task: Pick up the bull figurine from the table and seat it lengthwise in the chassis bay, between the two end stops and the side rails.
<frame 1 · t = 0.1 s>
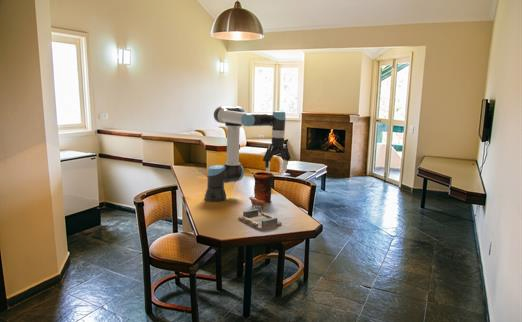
hand: (276, 171, 220), 28 cm above the table, tool pointing down, fingers open, 13 cm apart
chassis bay: (259, 222, 212), on the table
vessel: (262, 201, 254), on the table
bull figurine: (256, 210, 234), on the table
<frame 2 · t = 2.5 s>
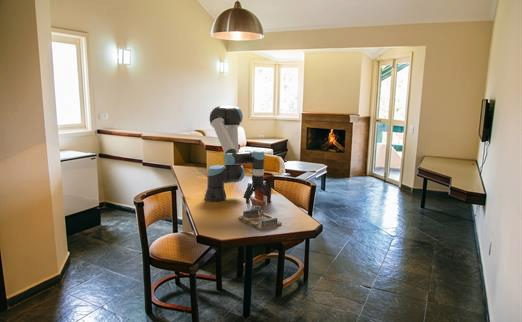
hand: (256, 207, 234), 2 cm above the table, tool pointing down, fingers open, 13 cm apart
nothing on the table moved.
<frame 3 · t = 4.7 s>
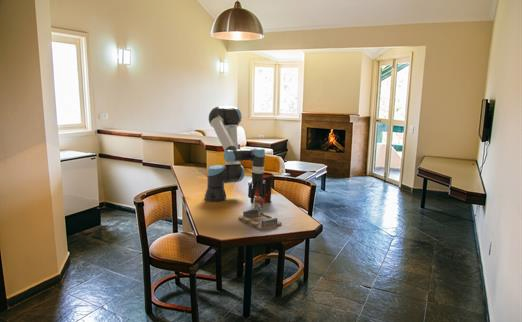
hand: (256, 207, 234), 2 cm above the table, tool pointing down, fingers closed on bull figurine, 5 cm apart
bull figurine: (256, 207, 235), point 1 cm above the table, touching gripper
everything else where it was.
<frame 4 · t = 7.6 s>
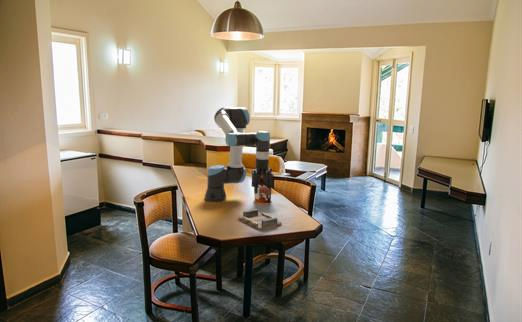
hand: (260, 197, 210), 15 cm above the table, tool pointing down, fingers closed on bull figurine, 5 cm apart
bull figurine: (260, 198, 210), point 14 cm above the table, touching gripper
everything else where it was.
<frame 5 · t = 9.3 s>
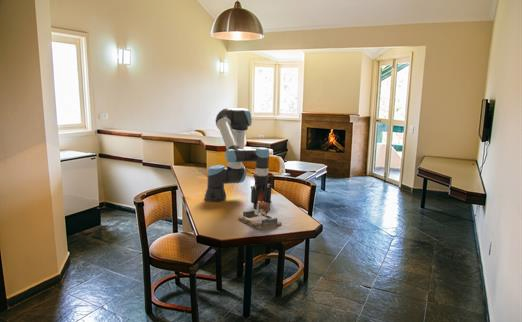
hand: (260, 213, 211), 5 cm above the table, tool pointing down, fingers closed on bull figurine, 5 cm apart
bull figurine: (259, 214, 211), point 5 cm above the table, touching gripper
everything else where it was.
when the fingers open (3 cm above the table, at t = 10.5 s): bull figurine stays where it is, resting on chassis bay.
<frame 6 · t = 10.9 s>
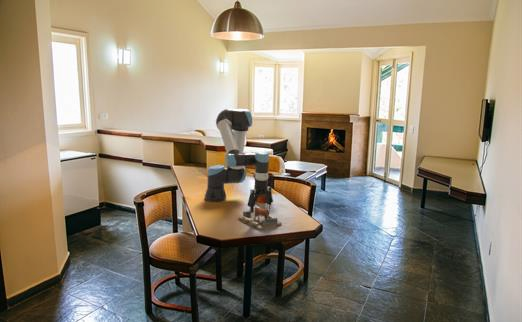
hand: (259, 216, 212), 4 cm above the table, tool pointing down, fingers open, 10 cm apart
bull figurine: (259, 219, 212), point 1 cm above the table, touching chassis bay
everything else where it was.
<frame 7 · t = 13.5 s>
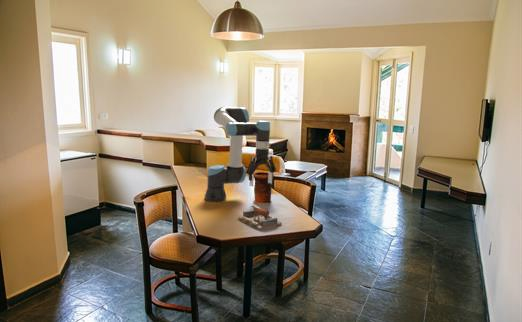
hand: (260, 184, 209), 23 cm above the table, tool pointing down, fingers open, 13 cm apart
nothing on the table moved.
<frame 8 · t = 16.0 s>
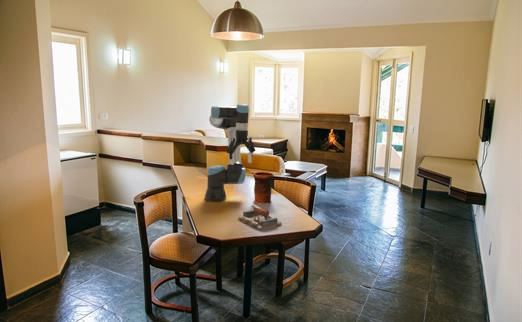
hand: (240, 163, 226), 31 cm above the table, tool pointing down, fingers open, 13 cm apart
nothing on the table moved.
at the end: bull figurine 0.1 cm off-centre on the chassis bay, point 1.3 cm above the chassis bay's base; bull figurine tilted 0°; the gripper is holding nothing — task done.
